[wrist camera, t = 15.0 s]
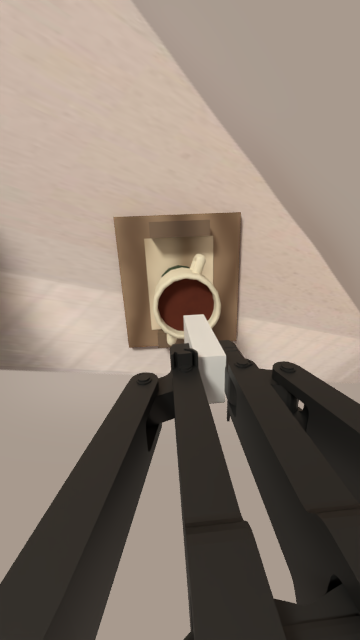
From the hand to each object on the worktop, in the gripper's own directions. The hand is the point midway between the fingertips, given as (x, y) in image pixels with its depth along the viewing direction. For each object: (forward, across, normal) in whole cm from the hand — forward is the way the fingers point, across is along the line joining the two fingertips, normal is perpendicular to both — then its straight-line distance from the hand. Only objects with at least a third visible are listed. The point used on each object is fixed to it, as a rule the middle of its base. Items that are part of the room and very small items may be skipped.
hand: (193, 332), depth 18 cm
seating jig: (+21, +1, 0) cm, 21 cm away
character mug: (+20, 0, 0) cm, 20 cm away
